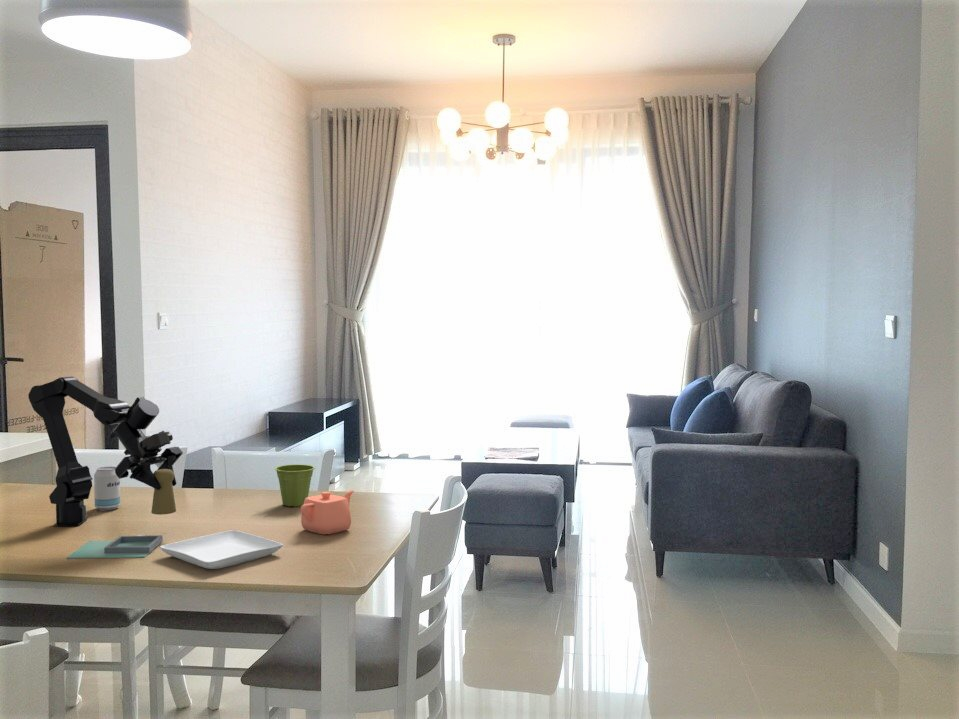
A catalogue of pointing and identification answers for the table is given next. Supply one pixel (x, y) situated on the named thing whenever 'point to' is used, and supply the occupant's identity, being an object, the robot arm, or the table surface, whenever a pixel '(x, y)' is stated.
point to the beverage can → (106, 489)
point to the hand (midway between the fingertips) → (167, 486)
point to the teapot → (326, 513)
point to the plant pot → (294, 483)
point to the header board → (119, 547)
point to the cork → (164, 493)
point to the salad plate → (222, 549)
